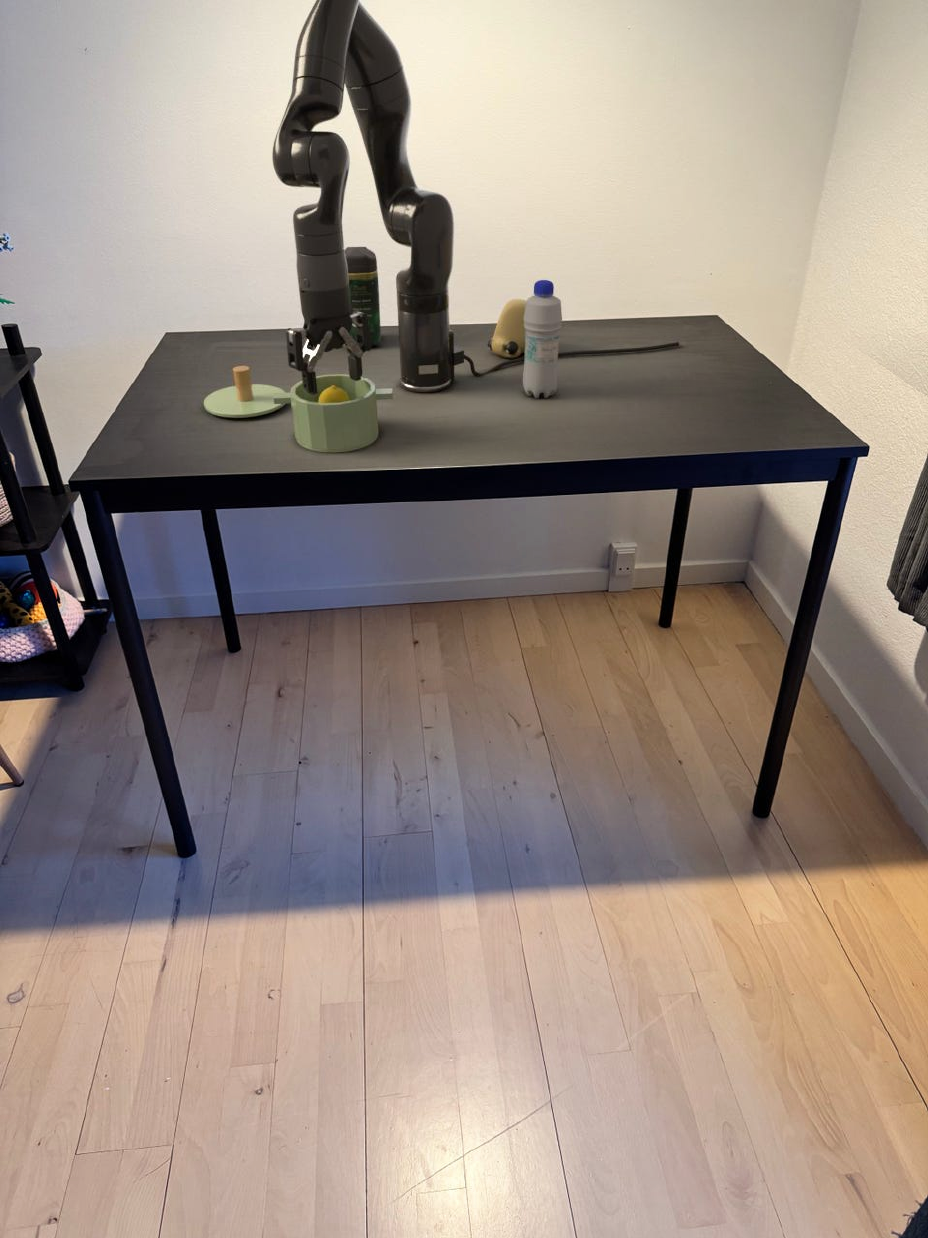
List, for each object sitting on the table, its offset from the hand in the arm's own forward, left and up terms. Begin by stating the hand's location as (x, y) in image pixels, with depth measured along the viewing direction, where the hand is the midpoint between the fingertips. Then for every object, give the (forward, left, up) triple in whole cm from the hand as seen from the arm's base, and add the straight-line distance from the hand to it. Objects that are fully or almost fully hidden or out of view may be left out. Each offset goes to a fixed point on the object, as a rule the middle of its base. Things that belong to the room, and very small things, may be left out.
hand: (333, 386), depth 142 cm
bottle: (-38, +10, -9) cm, 40 cm away
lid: (+4, -22, -8) cm, 24 cm away
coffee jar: (-32, -36, -9) cm, 49 cm away
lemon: (0, 0, -8) cm, 8 cm away
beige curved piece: (-51, -9, -9) cm, 52 cm away
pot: (0, 0, -8) cm, 8 cm away
